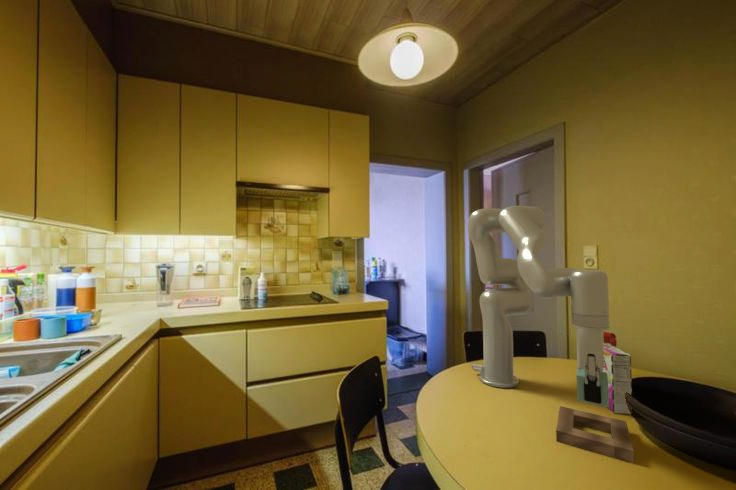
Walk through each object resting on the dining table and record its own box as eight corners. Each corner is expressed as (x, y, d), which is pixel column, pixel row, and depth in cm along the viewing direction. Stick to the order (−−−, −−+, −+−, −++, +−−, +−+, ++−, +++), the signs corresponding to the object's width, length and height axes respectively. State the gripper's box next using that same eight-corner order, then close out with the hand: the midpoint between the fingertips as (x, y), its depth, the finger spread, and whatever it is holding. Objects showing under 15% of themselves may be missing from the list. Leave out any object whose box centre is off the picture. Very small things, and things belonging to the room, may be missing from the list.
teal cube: (577, 400, 75) (576, 375, 75) (577, 391, 80) (577, 367, 80) (609, 407, 72) (608, 380, 72) (607, 397, 77) (606, 372, 77)
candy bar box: (592, 395, 97) (591, 342, 98) (610, 397, 96) (609, 342, 97) (612, 413, 86) (611, 353, 87) (633, 415, 85) (632, 354, 86)
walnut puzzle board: (556, 440, 74) (556, 430, 74) (560, 415, 86) (559, 406, 86) (633, 463, 66) (633, 451, 66) (626, 431, 78) (626, 421, 78)
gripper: (572, 313, 86) (574, 381, 85) (570, 325, 72) (572, 406, 71) (607, 316, 82) (609, 387, 81) (612, 330, 67) (615, 416, 67)
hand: (592, 395), depth 76 cm, fingers closed on teal cube, 6 cm apart
